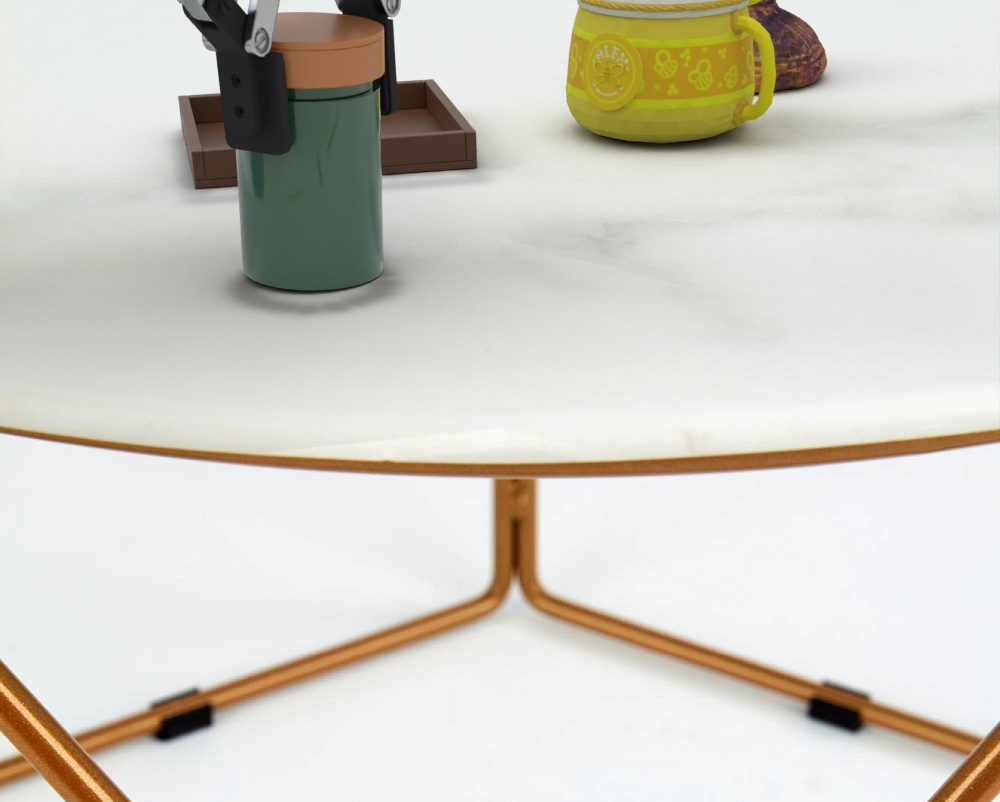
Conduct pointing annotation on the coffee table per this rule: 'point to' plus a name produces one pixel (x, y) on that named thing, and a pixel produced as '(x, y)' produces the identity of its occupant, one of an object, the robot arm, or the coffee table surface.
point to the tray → (404, 135)
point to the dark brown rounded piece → (788, 47)
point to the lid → (328, 49)
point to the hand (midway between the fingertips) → (314, 126)
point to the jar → (317, 194)
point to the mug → (667, 68)
